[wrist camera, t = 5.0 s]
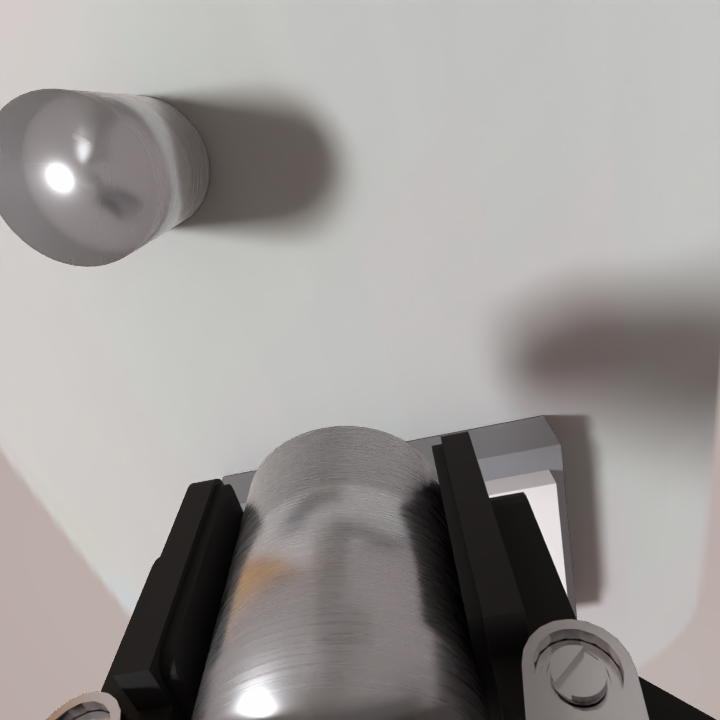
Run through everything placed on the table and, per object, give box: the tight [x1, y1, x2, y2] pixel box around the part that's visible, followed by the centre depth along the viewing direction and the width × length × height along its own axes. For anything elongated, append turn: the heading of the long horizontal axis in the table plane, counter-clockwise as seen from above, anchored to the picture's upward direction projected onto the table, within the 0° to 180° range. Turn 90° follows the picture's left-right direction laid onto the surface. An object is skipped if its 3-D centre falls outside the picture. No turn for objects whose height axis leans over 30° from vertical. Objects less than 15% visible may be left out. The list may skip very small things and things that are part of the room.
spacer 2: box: [191, 426, 491, 720], centre depth 9 cm, size 4×4×5 cm
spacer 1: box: [0, 89, 210, 267], centre depth 15 cm, size 4×4×5 cm
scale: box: [222, 416, 577, 619], centre depth 23 cm, size 10×14×3 cm
